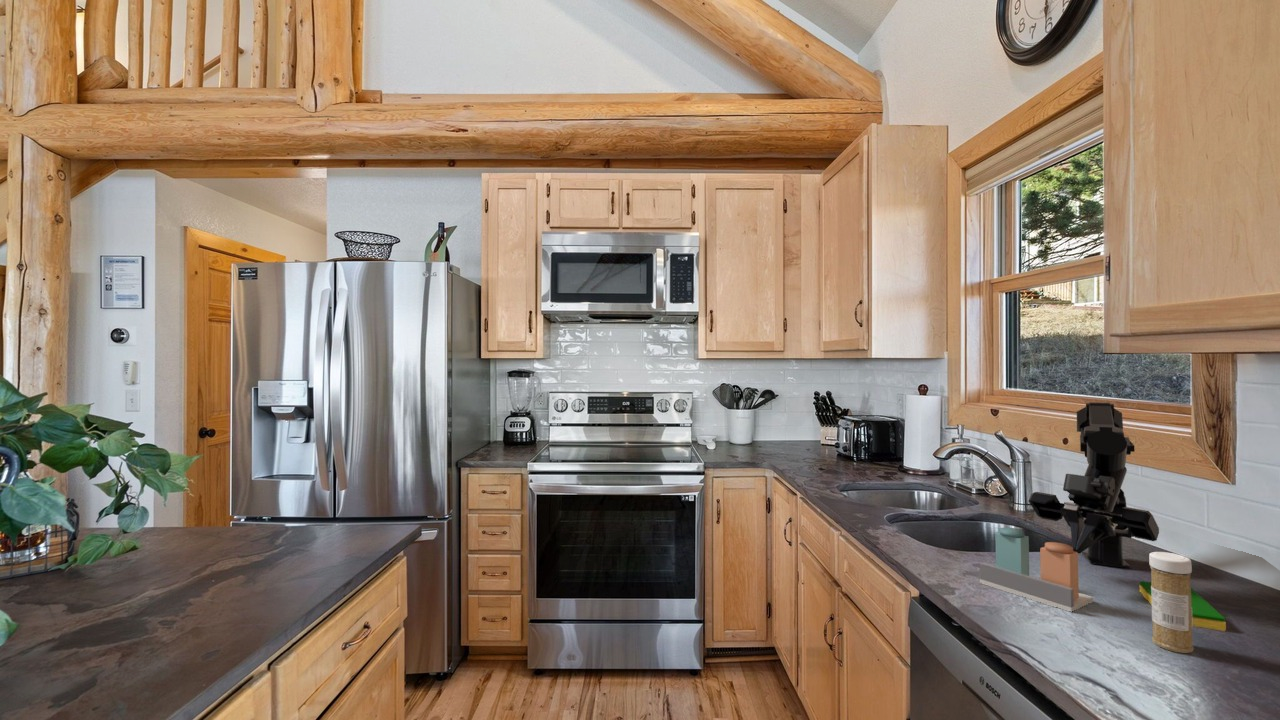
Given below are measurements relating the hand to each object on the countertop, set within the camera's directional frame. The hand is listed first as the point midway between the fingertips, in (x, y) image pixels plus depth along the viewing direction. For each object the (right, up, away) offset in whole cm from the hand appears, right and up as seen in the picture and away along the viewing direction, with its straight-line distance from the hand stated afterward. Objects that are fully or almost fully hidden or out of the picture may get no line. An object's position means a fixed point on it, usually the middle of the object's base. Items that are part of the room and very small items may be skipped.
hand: (1075, 551), depth 102 cm
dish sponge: (+12, -8, -8) cm, 16 cm away
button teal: (-8, -6, +5) cm, 12 cm away
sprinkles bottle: (-1, -7, -20) cm, 21 cm away
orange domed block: (-6, -6, -4) cm, 10 cm away
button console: (-8, -7, 0) cm, 11 cm away
